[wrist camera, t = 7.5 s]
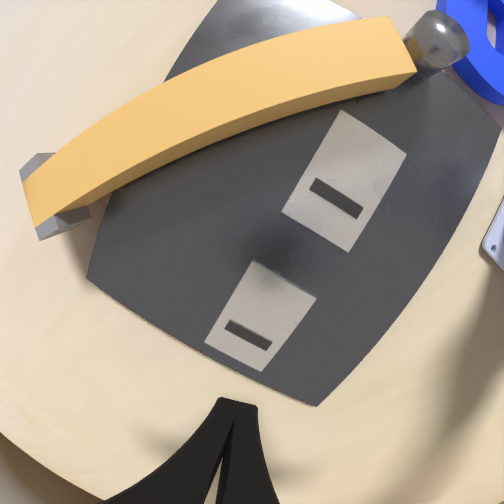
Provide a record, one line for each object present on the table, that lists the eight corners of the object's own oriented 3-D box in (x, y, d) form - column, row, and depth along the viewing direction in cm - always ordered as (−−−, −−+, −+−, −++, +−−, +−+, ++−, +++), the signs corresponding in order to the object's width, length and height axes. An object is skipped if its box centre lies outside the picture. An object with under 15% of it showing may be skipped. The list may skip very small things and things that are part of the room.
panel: (493, 127, 12) (549, 122, 7) (315, 397, 19) (318, 457, 13) (246, -22, 11) (229, -75, 6) (94, 273, 18) (42, 305, 13)
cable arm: (365, 29, 10) (380, 2, 8) (400, 102, 11) (424, 89, 9) (52, 167, 15) (19, 170, 12) (71, 229, 16) (39, 241, 13)
